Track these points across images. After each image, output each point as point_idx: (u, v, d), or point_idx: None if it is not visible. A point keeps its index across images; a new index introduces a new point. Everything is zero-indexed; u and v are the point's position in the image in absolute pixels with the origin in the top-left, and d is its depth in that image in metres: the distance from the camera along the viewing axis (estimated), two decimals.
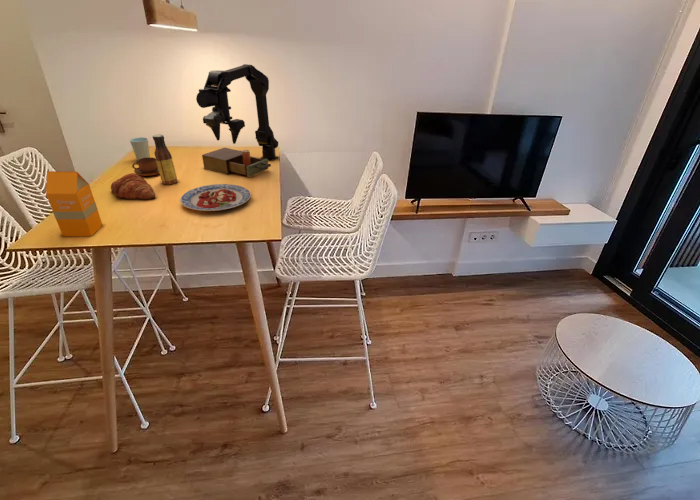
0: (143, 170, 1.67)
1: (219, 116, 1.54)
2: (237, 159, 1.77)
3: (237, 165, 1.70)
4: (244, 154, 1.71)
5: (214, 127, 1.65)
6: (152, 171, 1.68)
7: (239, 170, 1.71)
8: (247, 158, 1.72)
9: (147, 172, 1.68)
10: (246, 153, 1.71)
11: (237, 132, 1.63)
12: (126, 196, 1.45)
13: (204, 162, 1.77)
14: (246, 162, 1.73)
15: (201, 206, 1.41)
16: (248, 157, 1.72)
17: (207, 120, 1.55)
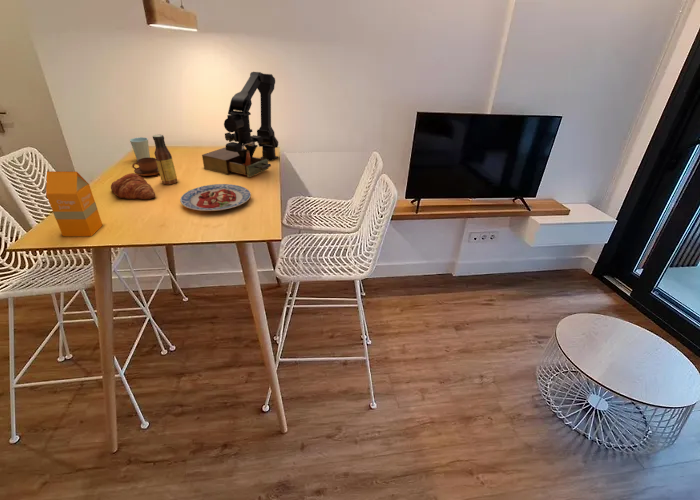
0: (143, 170, 1.67)
1: (226, 134, 1.67)
2: (237, 159, 1.77)
3: (237, 165, 1.70)
4: None
5: (247, 148, 1.74)
6: (152, 171, 1.68)
7: (239, 170, 1.71)
8: (247, 158, 1.72)
9: (147, 172, 1.68)
10: None
11: (242, 154, 1.69)
12: (126, 196, 1.45)
13: (204, 162, 1.77)
14: (246, 162, 1.73)
15: (201, 206, 1.41)
16: (248, 157, 1.72)
17: None
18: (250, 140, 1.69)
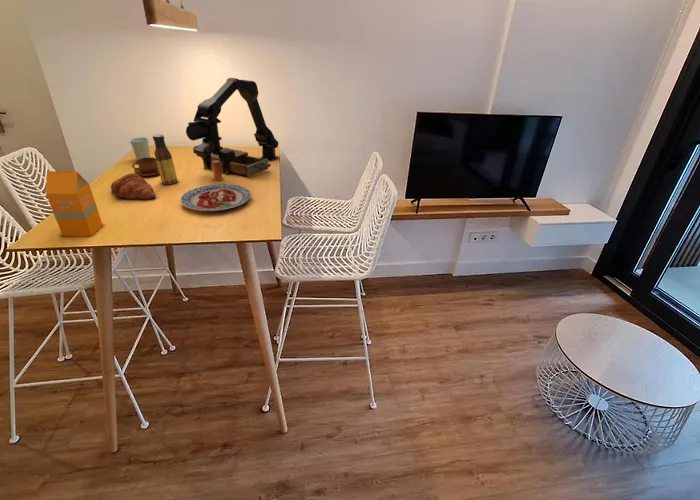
0: (143, 170, 1.67)
1: (209, 148, 1.54)
2: (237, 159, 1.77)
3: (237, 165, 1.70)
4: (219, 164, 1.64)
5: (205, 157, 1.65)
6: (152, 171, 1.68)
7: (239, 170, 1.71)
8: (220, 167, 1.66)
9: (147, 172, 1.68)
10: (219, 162, 1.65)
11: (228, 162, 1.62)
12: (126, 196, 1.45)
13: None
14: None
15: (201, 206, 1.41)
16: None
17: (197, 152, 1.55)
18: None
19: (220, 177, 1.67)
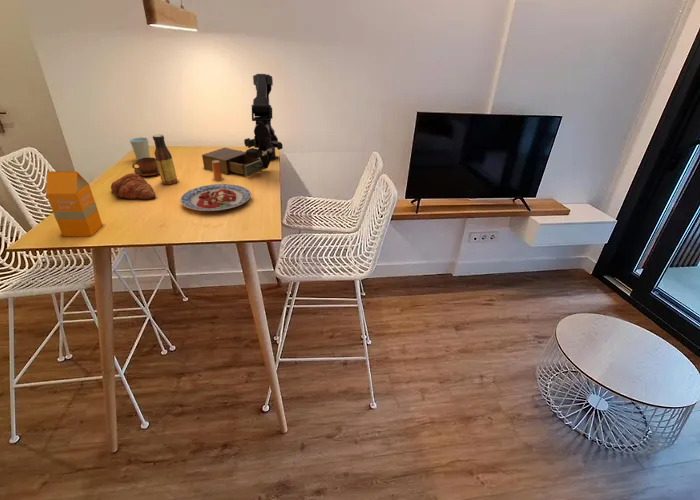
0: (143, 170, 1.67)
1: (246, 140, 1.64)
2: (235, 159, 1.78)
3: (235, 164, 1.71)
4: (219, 164, 1.64)
5: None
6: (152, 171, 1.68)
7: (237, 169, 1.71)
8: (220, 167, 1.66)
9: (147, 172, 1.68)
10: (219, 162, 1.65)
11: (265, 159, 1.67)
12: (126, 196, 1.45)
13: (204, 162, 1.77)
14: None
15: (201, 206, 1.41)
16: None
17: None
18: (270, 146, 1.65)
19: (220, 177, 1.67)
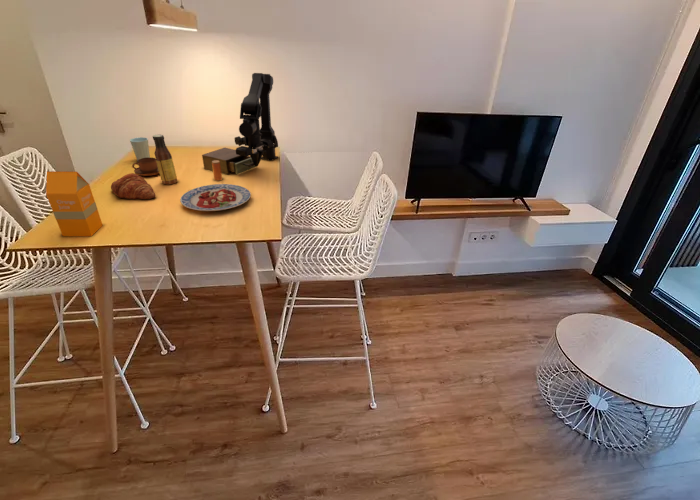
0: (143, 170, 1.67)
1: (236, 138, 1.66)
2: None
3: None
4: (219, 164, 1.64)
5: None
6: (152, 171, 1.68)
7: (228, 167, 1.73)
8: (220, 167, 1.66)
9: (147, 172, 1.68)
10: (219, 162, 1.65)
11: (255, 157, 1.69)
12: (126, 196, 1.45)
13: (204, 162, 1.77)
14: None
15: (201, 206, 1.41)
16: None
17: None
18: (260, 144, 1.67)
19: (220, 177, 1.67)
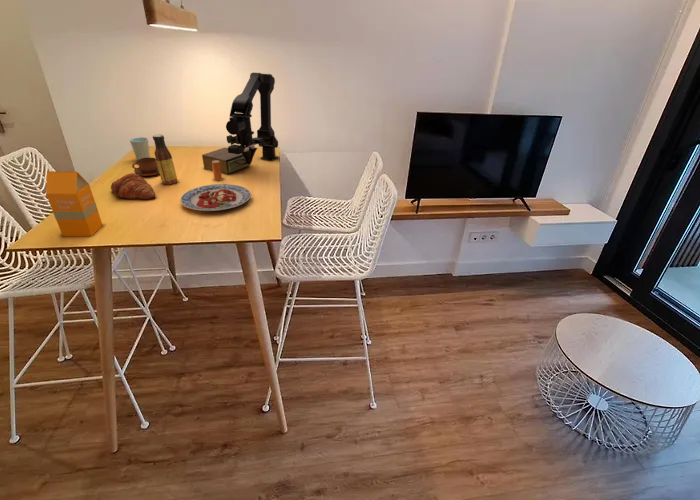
0: (143, 170, 1.67)
1: (228, 137, 1.68)
2: None
3: None
4: (219, 164, 1.64)
5: None
6: (152, 171, 1.68)
7: None
8: (220, 167, 1.66)
9: (147, 172, 1.68)
10: (219, 162, 1.65)
11: (247, 155, 1.71)
12: (126, 196, 1.45)
13: (204, 162, 1.77)
14: None
15: (201, 206, 1.41)
16: None
17: None
18: (252, 142, 1.69)
19: (220, 177, 1.67)
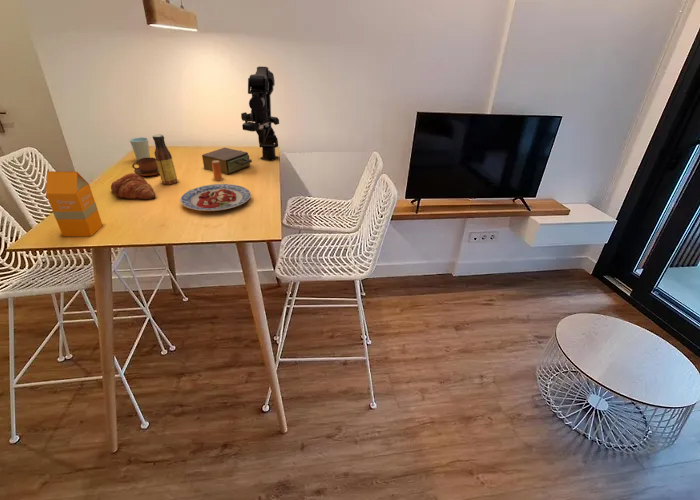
0: (143, 170, 1.67)
1: (243, 114, 1.66)
2: None
3: None
4: (219, 164, 1.64)
5: None
6: (152, 171, 1.68)
7: None
8: (220, 167, 1.66)
9: (147, 172, 1.68)
10: (219, 162, 1.65)
11: (261, 133, 1.69)
12: (126, 196, 1.45)
13: (204, 162, 1.77)
14: None
15: (201, 206, 1.41)
16: None
17: None
18: (267, 120, 1.67)
19: (220, 177, 1.67)
